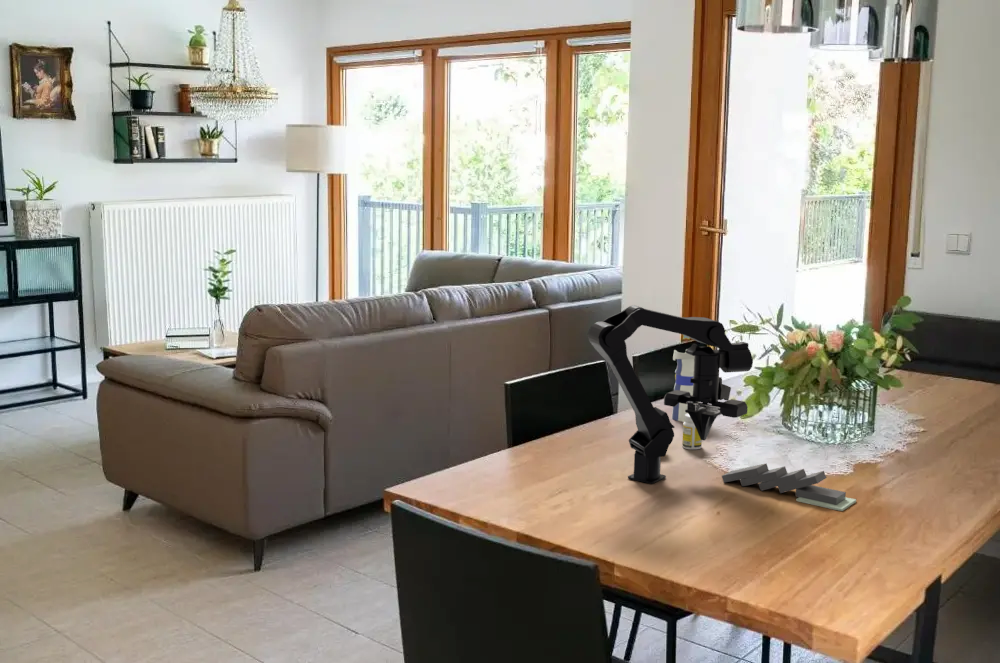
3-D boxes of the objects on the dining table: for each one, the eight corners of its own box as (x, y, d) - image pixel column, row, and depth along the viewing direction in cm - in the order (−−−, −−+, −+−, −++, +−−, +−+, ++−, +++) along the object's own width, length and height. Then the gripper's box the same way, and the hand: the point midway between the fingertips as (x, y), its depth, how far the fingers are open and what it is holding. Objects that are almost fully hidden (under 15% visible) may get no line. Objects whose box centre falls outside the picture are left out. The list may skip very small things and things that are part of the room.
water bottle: (663, 416, 294) (666, 329, 290) (688, 413, 298) (692, 327, 294) (680, 423, 287) (683, 334, 283) (705, 420, 290) (709, 332, 286)
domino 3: (770, 485, 233) (806, 475, 227) (761, 490, 229) (797, 480, 224) (768, 478, 233) (803, 468, 228) (758, 483, 229) (794, 473, 224)
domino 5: (804, 490, 228) (845, 499, 222) (795, 496, 224) (836, 505, 219) (805, 483, 228) (845, 492, 222) (795, 489, 224) (836, 497, 218)
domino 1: (733, 477, 239) (768, 470, 233) (723, 482, 235) (758, 475, 229) (731, 470, 239) (766, 463, 233) (721, 475, 235) (756, 468, 229)
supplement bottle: (700, 445, 265) (701, 413, 264) (702, 450, 261) (703, 417, 259) (681, 444, 266) (682, 412, 264) (682, 449, 261) (684, 417, 260)
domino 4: (789, 487, 230) (826, 477, 225) (780, 493, 226) (817, 483, 221) (787, 480, 230) (823, 470, 225) (777, 486, 227) (814, 476, 221)
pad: (842, 511, 216) (842, 509, 216) (796, 500, 223) (796, 498, 223) (856, 501, 223) (856, 499, 222) (811, 492, 229) (811, 489, 229)
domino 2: (752, 481, 236) (787, 473, 230) (742, 486, 232) (777, 478, 226) (749, 474, 236) (785, 466, 230) (739, 479, 232) (775, 471, 226)
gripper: (760, 373, 237) (756, 440, 240) (688, 363, 249) (685, 426, 252) (737, 381, 229) (734, 450, 232) (663, 369, 241) (661, 435, 243)
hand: (703, 439), depth 240 cm, fingers closed
